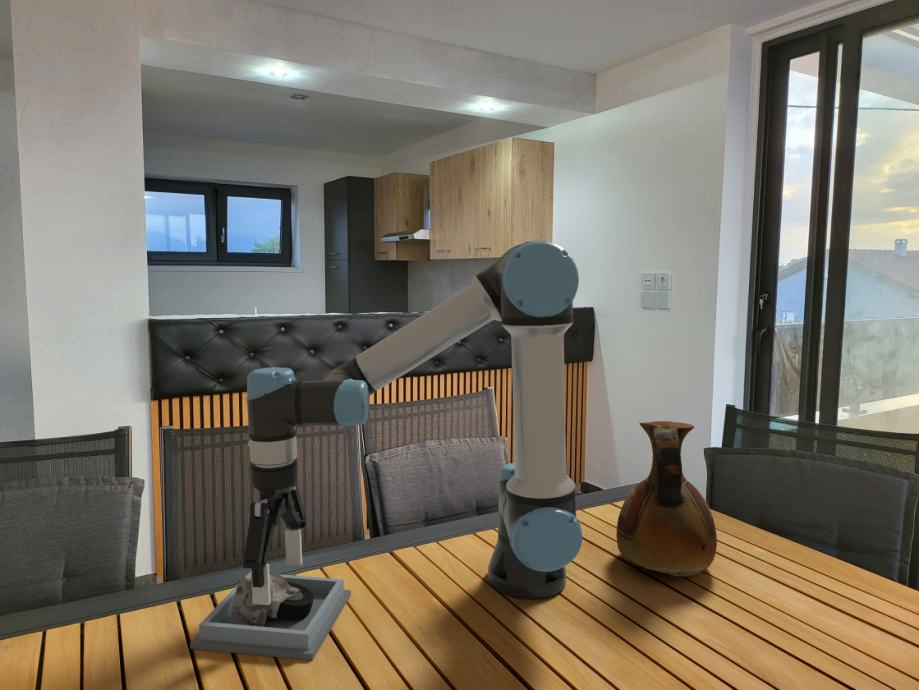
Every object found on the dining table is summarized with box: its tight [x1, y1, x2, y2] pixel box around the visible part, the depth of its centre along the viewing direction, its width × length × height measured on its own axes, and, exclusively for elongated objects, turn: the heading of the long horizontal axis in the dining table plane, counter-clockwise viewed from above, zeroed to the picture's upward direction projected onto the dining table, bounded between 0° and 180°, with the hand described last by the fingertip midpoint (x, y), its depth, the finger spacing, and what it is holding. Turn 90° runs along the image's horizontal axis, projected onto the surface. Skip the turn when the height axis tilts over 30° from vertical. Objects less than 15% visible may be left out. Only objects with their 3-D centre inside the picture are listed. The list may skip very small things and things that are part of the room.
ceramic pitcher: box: [616, 420, 718, 577], centre depth 131 cm, size 20×20×30 cm
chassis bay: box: [189, 571, 352, 661], centre depth 109 cm, size 20×20×4 cm
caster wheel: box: [231, 572, 314, 627], centre depth 109 cm, size 7×11×10 cm
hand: (279, 583), depth 109 cm, fingers open, 13 cm apart
